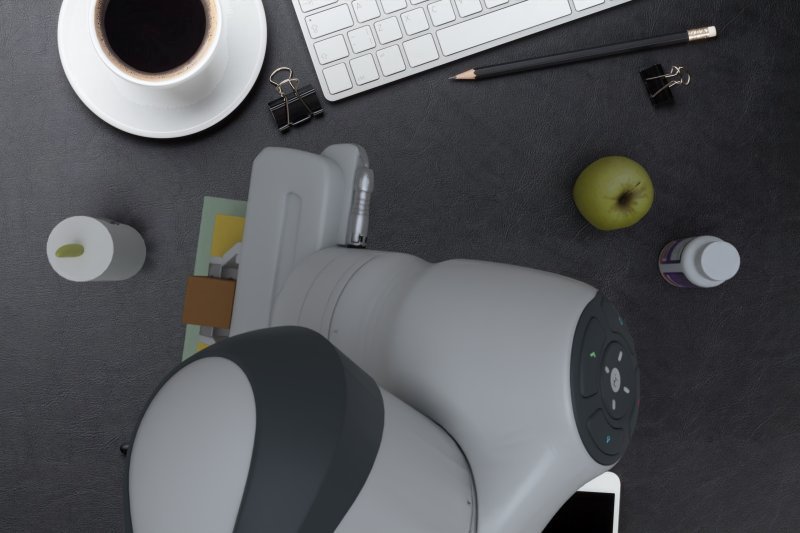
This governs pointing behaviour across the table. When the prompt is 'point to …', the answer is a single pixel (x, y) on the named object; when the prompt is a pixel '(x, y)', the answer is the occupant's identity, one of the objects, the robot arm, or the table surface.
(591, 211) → the apple
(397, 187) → the table surface
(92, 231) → the candle
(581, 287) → the robot arm
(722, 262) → the pill bottle
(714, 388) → the table surface
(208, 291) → the wiper
